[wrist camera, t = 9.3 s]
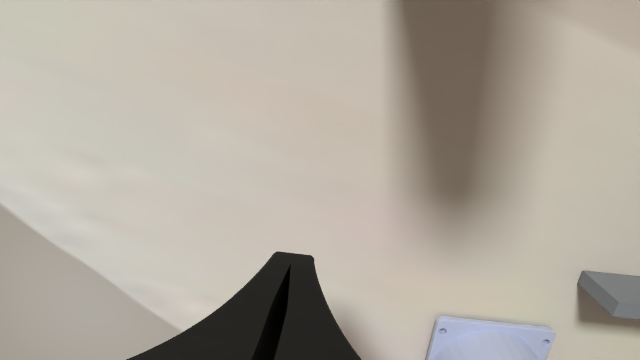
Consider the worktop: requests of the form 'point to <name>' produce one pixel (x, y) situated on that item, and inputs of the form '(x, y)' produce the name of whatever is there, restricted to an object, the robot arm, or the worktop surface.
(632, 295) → the grey tray
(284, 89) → the worktop surface
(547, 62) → the worktop surface
